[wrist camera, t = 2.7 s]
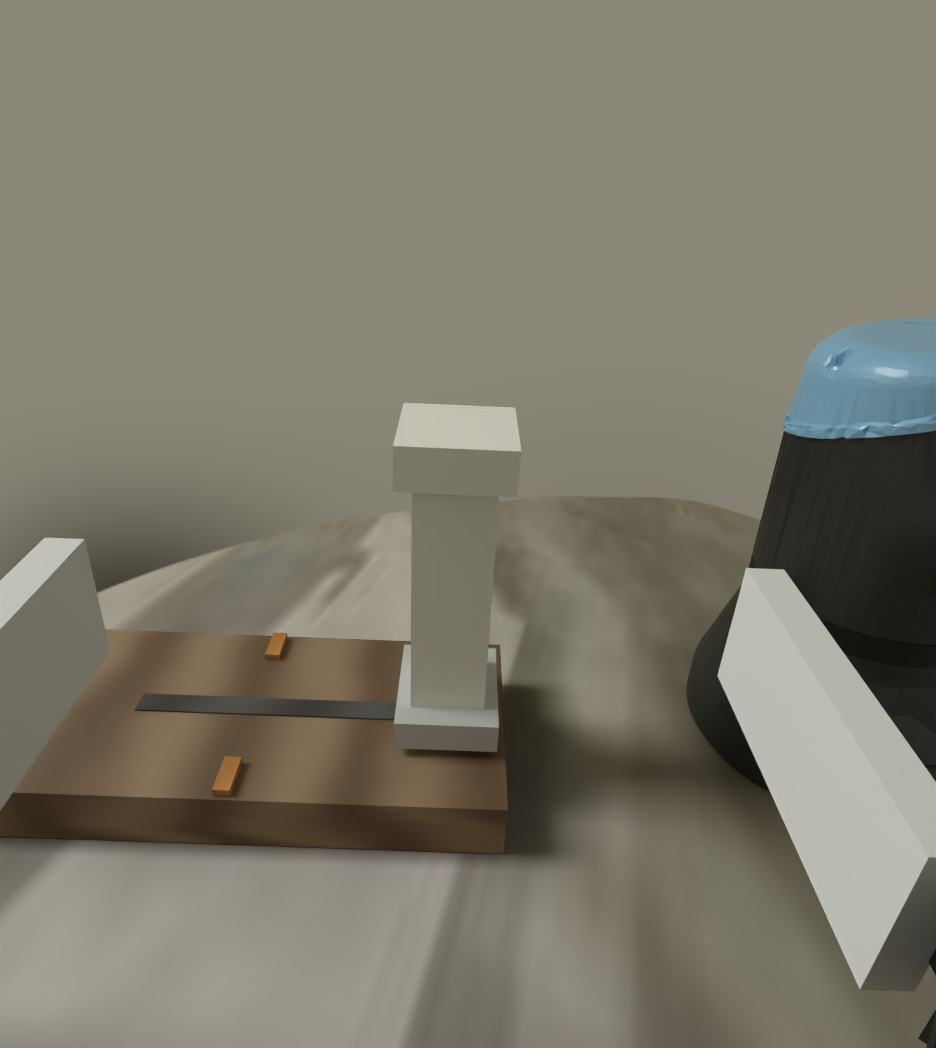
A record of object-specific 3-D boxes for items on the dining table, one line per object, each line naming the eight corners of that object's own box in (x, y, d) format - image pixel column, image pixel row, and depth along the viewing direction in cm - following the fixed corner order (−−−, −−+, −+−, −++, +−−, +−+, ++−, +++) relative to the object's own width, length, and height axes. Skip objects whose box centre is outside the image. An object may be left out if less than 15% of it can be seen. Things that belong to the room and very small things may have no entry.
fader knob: (494, 671, 41) (514, 404, 33) (496, 752, 36) (522, 456, 28) (404, 667, 41) (404, 399, 33) (393, 748, 36) (391, 450, 28)
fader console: (496, 680, 46) (500, 636, 44) (503, 854, 35) (508, 804, 33) (74, 664, 45) (61, 619, 44) (-52, 834, 34) (-74, 783, 33)
